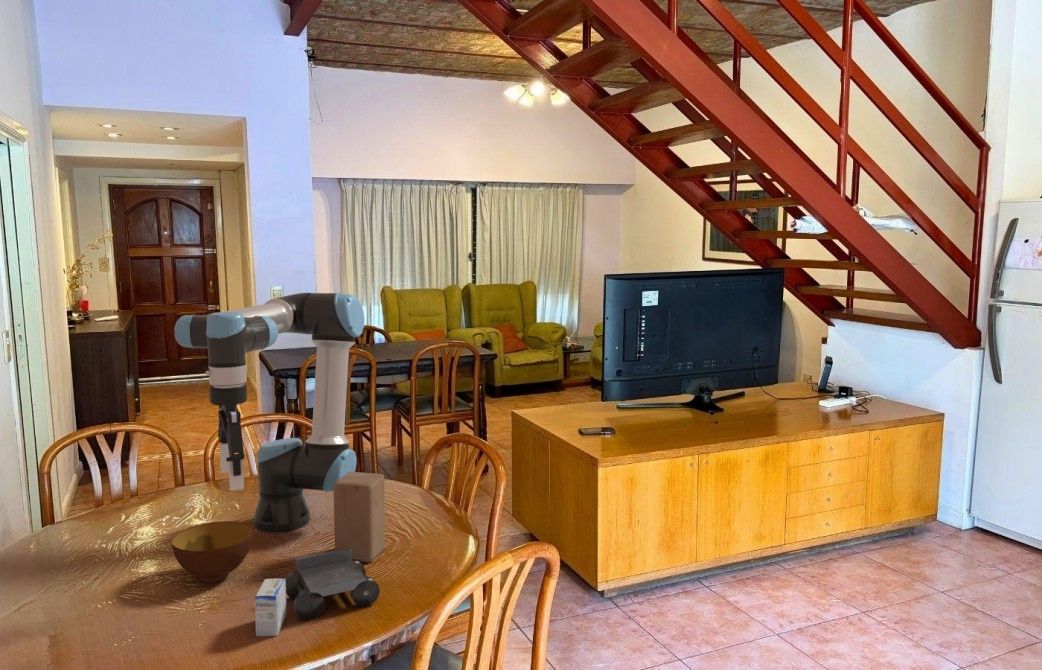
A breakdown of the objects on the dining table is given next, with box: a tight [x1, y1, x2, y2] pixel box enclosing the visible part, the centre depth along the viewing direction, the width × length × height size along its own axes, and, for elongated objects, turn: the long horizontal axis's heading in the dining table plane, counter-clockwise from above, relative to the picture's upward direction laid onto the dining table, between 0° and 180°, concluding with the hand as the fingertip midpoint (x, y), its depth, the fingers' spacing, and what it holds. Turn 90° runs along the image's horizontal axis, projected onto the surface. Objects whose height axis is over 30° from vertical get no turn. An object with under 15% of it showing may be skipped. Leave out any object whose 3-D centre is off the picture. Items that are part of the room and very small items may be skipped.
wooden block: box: [333, 471, 386, 563], centre depth 188 cm, size 10×10×20 cm
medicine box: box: [254, 578, 287, 637], centre depth 153 cm, size 8×4×9 cm, turn 5°
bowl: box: [171, 520, 254, 583], centre depth 175 cm, size 18×18×10 cm
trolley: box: [284, 547, 381, 621], centre depth 164 cm, size 12×18×9 cm, turn 119°
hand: (232, 480), depth 163 cm, fingers open, 13 cm apart
